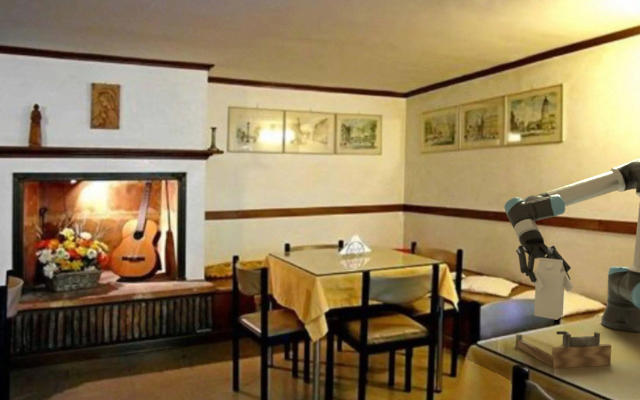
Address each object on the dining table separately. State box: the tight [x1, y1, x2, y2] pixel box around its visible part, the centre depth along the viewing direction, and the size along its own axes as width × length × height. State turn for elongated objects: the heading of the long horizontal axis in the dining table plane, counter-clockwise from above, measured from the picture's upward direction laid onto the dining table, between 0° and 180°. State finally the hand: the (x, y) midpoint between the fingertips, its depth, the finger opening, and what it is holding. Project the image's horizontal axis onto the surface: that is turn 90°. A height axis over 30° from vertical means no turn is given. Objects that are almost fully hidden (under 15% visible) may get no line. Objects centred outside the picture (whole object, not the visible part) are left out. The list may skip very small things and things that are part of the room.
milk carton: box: [533, 258, 565, 320], centre depth 168 cm, size 7×7×19 cm
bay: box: [515, 330, 612, 369], centre depth 162 cm, size 19×21×11 cm
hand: (555, 289), depth 165 cm, fingers closed on milk carton, 10 cm apart
